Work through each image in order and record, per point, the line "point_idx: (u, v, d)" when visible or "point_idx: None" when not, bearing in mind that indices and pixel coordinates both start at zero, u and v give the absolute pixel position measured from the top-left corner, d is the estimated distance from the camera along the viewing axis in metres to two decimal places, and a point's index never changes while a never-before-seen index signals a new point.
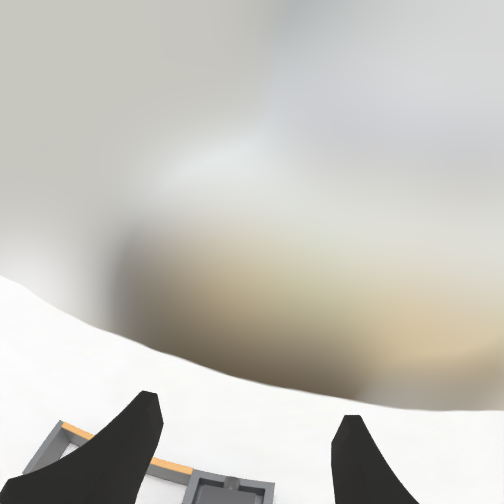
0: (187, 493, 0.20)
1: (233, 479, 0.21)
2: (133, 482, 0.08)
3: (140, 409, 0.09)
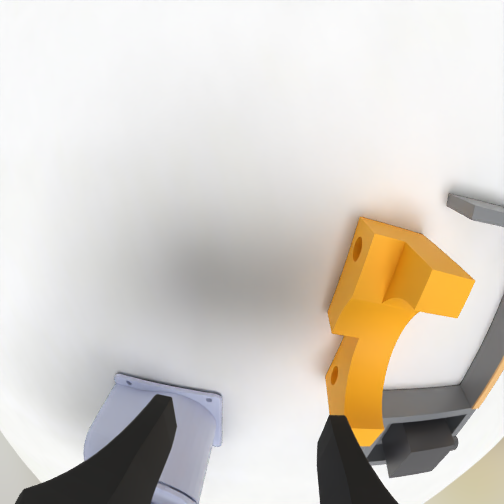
0: (451, 412, 0.18)
1: (452, 449, 0.18)
2: (148, 487, 0.08)
3: (156, 413, 0.09)
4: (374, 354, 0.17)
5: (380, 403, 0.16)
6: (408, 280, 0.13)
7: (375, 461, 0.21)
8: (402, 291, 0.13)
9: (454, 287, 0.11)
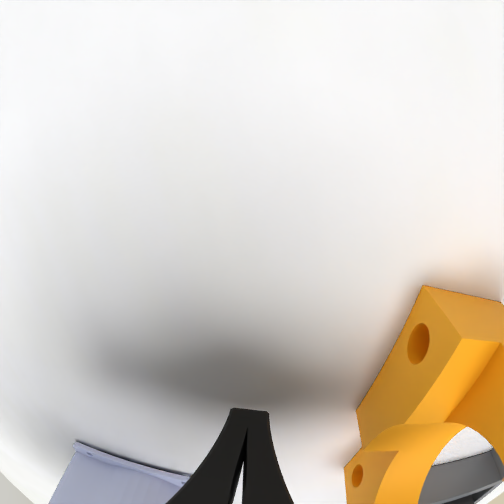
0: (480, 488, 0.11)
1: None
2: None
3: (240, 428, 0.09)
4: (415, 463, 0.10)
5: None
6: (500, 413, 0.05)
7: None
8: (486, 425, 0.06)
9: None
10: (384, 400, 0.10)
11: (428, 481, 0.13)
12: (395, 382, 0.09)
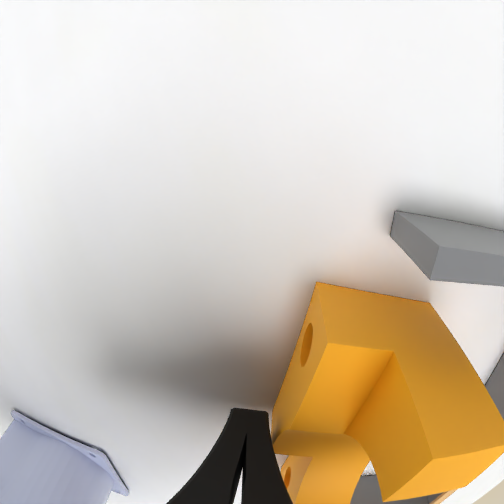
0: None
1: None
2: None
3: (241, 429, 0.09)
4: (337, 472, 0.10)
5: None
6: (386, 436, 0.06)
7: None
8: (373, 446, 0.06)
9: (472, 463, 0.04)
10: (284, 402, 0.10)
11: None
12: (291, 384, 0.10)
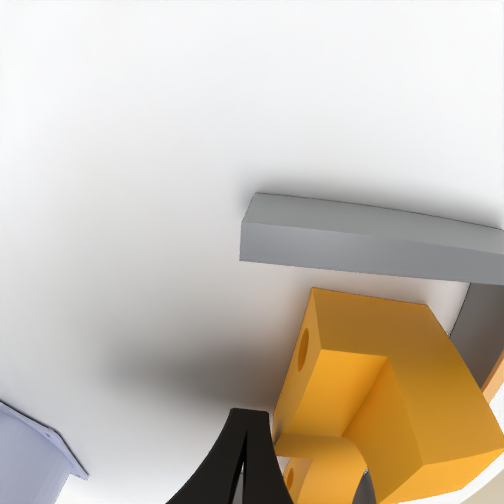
0: None
1: None
2: None
3: (240, 429, 0.09)
4: (338, 473, 0.10)
5: None
6: (380, 440, 0.06)
7: None
8: (368, 449, 0.06)
9: (465, 468, 0.04)
10: (283, 405, 0.10)
11: None
12: (289, 388, 0.10)
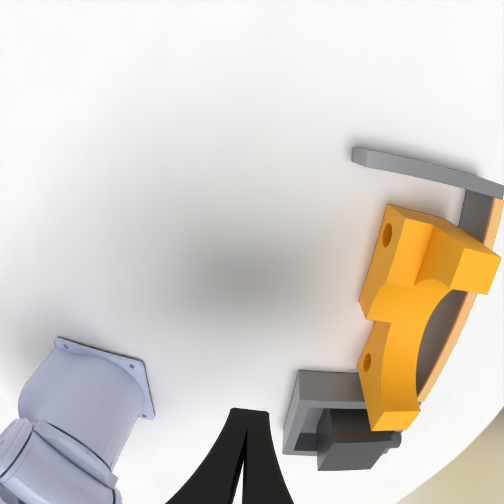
0: None
1: (395, 447, 0.18)
2: None
3: (240, 429, 0.09)
4: (406, 338, 0.17)
5: (414, 386, 0.16)
6: (440, 261, 0.13)
7: (307, 451, 0.21)
8: (434, 272, 0.13)
9: (483, 264, 0.11)
10: (374, 278, 0.17)
11: (330, 383, 0.20)
12: (378, 263, 0.17)
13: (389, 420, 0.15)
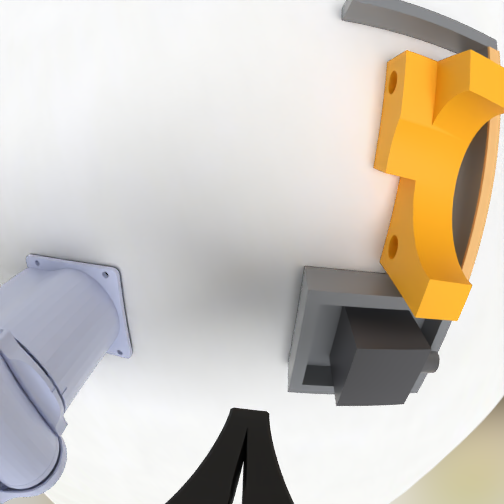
0: None
1: (432, 370, 0.15)
2: None
3: (240, 428, 0.09)
4: (435, 203, 0.14)
5: (456, 261, 0.13)
6: (452, 79, 0.10)
7: (320, 386, 0.18)
8: (449, 93, 0.10)
9: (497, 74, 0.08)
10: (387, 129, 0.14)
11: (345, 278, 0.17)
12: (389, 112, 0.14)
13: (436, 298, 0.12)
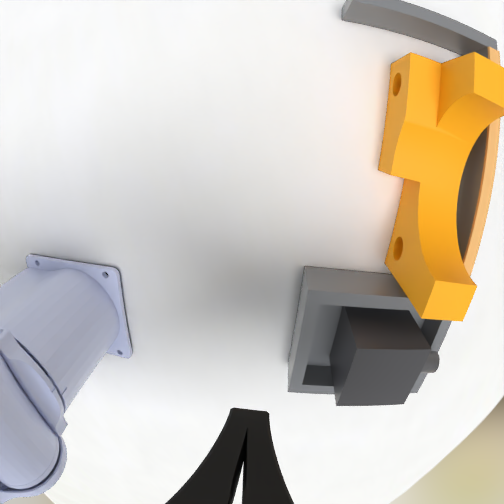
0: None
1: (432, 370, 0.15)
2: None
3: (240, 428, 0.09)
4: (440, 205, 0.14)
5: (461, 262, 0.13)
6: (456, 82, 0.10)
7: (320, 386, 0.18)
8: (454, 95, 0.10)
9: (500, 76, 0.08)
10: (391, 131, 0.14)
11: (345, 278, 0.17)
12: (393, 114, 0.14)
13: (442, 299, 0.12)
